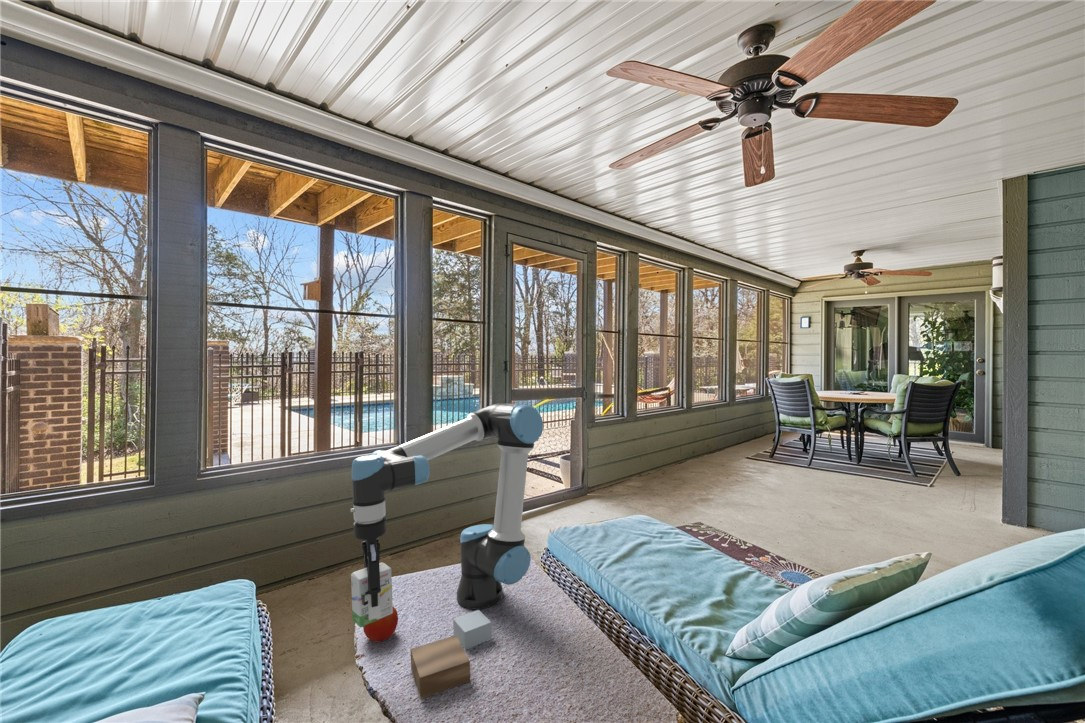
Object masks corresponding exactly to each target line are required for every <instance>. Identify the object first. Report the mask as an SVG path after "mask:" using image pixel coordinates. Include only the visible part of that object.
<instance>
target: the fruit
mask: <svg viewBox="0 0 1085 723" xmlns="http://www.w3.org/2000/svg"><path fill="white" fill-rule="evenodd" d="M398 615H399V614H398V611H397V609H396V608H395V607H394V606H393V613H392V614H390V615H388V616H385V617H383V618H381V619H379V620H376V621H374V622H372V623H370V624H367V625H365V626H363V627H362V628H363V632H364V634H365V637H366V638H367V639H368V640H369V641H371V642H374V643H379V642H384V641H386V640H388V639H390V638H391V636H392V635H393V634H394V632H395V631H396V629H397V626H398V624H399V616H398Z"/></svg>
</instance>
